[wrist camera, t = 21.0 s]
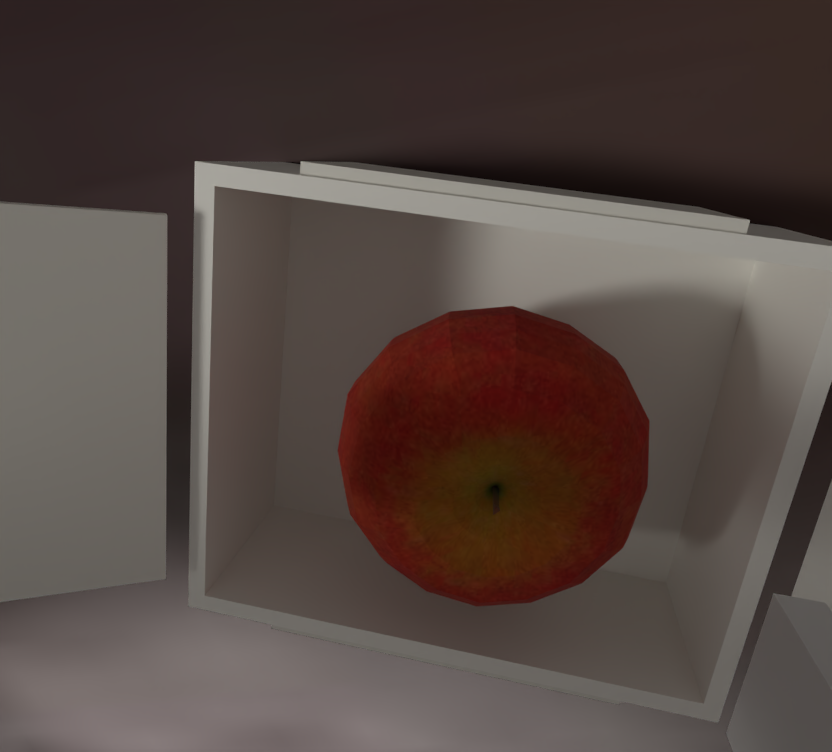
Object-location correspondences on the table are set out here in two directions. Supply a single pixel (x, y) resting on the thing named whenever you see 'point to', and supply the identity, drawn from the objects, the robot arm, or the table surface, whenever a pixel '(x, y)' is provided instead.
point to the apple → (494, 455)
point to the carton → (487, 288)
